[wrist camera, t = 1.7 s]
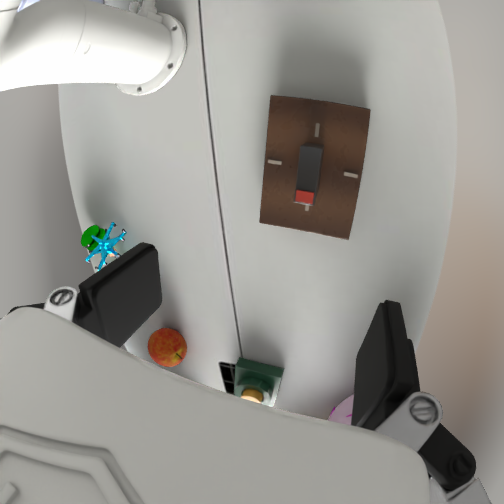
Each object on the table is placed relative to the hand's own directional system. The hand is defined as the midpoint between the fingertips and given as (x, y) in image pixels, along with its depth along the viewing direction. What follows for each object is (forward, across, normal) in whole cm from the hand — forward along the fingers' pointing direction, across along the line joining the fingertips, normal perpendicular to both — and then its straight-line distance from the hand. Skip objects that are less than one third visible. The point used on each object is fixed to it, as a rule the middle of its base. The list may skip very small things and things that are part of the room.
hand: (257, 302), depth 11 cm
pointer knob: (+20, 0, -3) cm, 20 cm away
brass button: (+19, +3, +35) cm, 41 cm away
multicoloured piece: (+22, +31, +14) cm, 41 cm away
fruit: (+21, +23, +31) cm, 44 cm away
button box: (+23, +3, +35) cm, 42 cm away
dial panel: (+23, 0, -3) cm, 23 cm away
